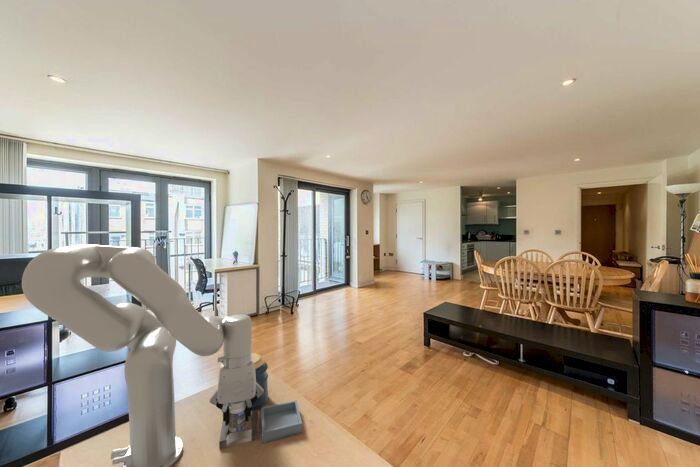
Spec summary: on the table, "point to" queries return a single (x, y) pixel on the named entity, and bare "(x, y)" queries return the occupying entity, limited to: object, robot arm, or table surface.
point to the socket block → (239, 433)
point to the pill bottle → (237, 417)
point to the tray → (280, 421)
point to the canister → (260, 380)
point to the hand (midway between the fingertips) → (237, 419)
